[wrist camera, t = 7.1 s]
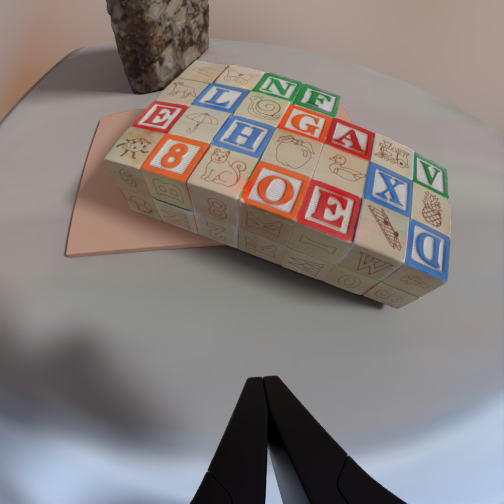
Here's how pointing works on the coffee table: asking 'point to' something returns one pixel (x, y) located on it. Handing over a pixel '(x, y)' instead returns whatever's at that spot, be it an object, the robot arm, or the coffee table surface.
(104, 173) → the mat
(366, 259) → the stack of blocks
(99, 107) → the coffee table surface
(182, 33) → the stone block
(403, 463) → the coffee table surface
